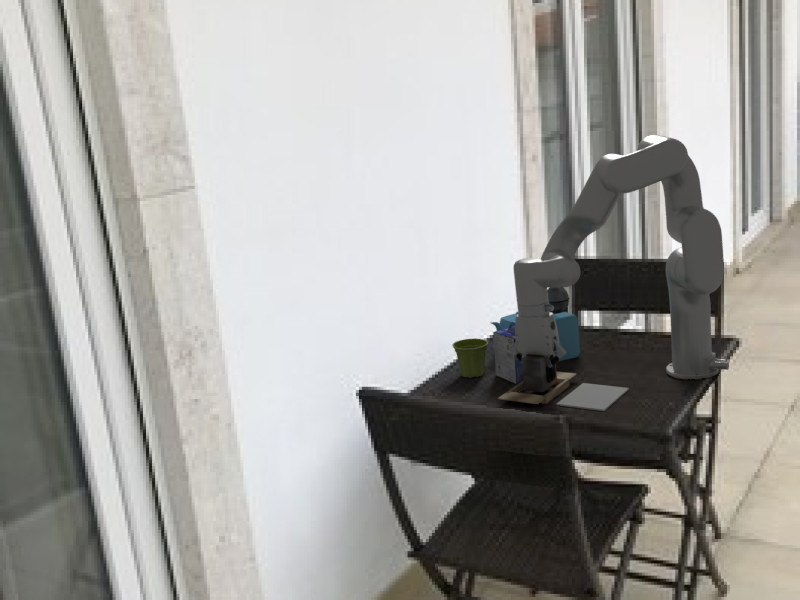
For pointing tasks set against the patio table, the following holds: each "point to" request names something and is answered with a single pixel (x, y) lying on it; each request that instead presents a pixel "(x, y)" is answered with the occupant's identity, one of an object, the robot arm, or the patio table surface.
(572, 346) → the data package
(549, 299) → the beverage cup
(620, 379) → the patio table surface
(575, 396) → the mat
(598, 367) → the patio table surface
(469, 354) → the plant pot
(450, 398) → the patio table surface
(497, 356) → the ink cartridge box
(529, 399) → the tan flat frame
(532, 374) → the walnut box
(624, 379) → the patio table surface
